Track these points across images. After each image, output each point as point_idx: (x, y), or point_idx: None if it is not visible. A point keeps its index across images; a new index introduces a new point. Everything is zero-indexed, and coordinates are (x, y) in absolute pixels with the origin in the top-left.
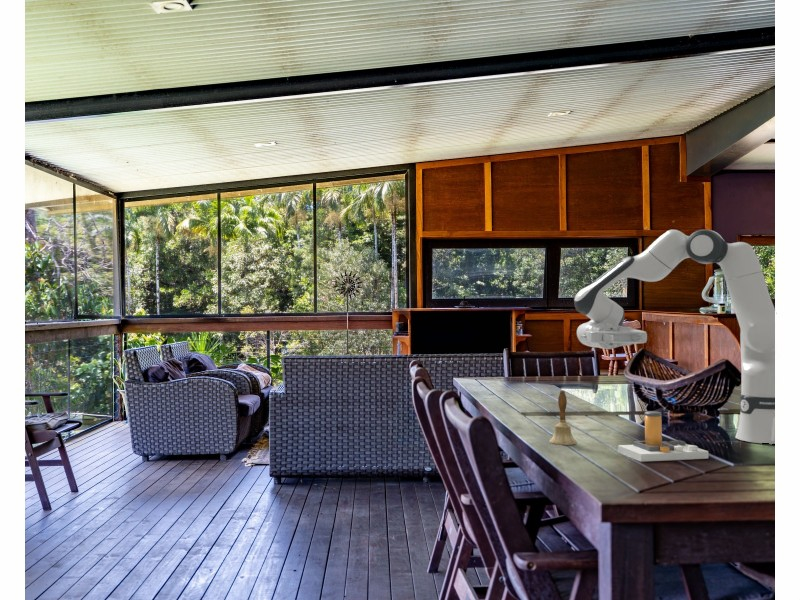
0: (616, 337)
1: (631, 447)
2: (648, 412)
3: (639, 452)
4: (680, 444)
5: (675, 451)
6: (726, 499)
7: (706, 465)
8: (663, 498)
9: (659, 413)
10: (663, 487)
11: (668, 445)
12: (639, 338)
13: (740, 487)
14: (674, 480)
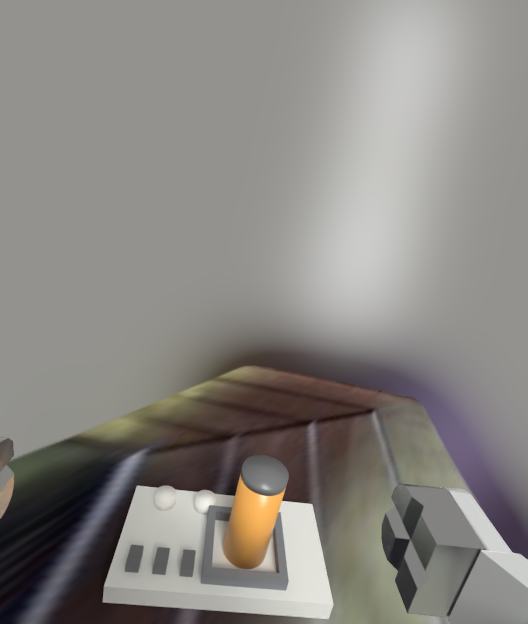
0: (399, 497)
1: (303, 568)
2: (277, 476)
3: (307, 517)
4: (142, 556)
5: (216, 503)
6: (287, 376)
7: (192, 463)
8: (352, 393)
9: (256, 455)
10: (336, 412)
11: (214, 522)
12: (7, 473)
13: (239, 389)
14: (306, 425)
